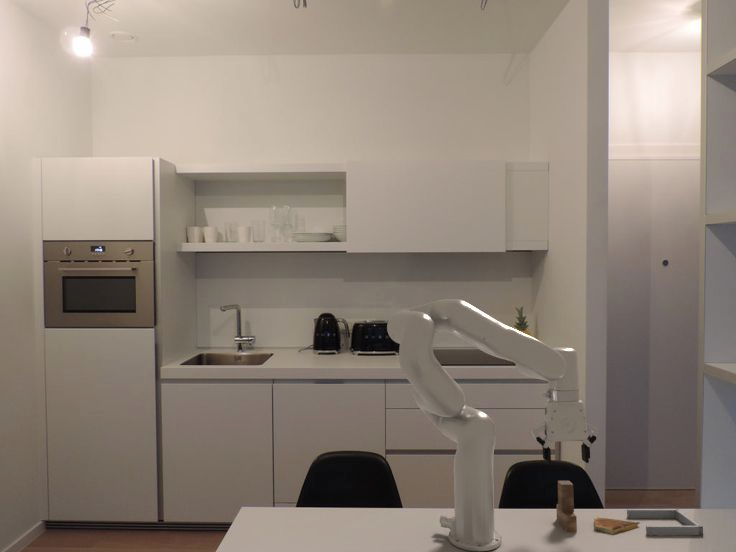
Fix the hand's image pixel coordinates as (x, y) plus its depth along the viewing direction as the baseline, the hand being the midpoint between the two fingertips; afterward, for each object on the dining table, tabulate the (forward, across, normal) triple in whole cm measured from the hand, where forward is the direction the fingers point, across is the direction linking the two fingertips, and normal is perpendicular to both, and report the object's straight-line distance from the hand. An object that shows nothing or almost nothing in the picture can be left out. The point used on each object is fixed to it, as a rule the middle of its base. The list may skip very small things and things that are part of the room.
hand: (566, 461), depth 144 cm
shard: (+17, +11, 0) cm, 20 cm away
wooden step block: (+16, -1, 0) cm, 16 cm away
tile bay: (+17, +23, 0) cm, 29 cm away
